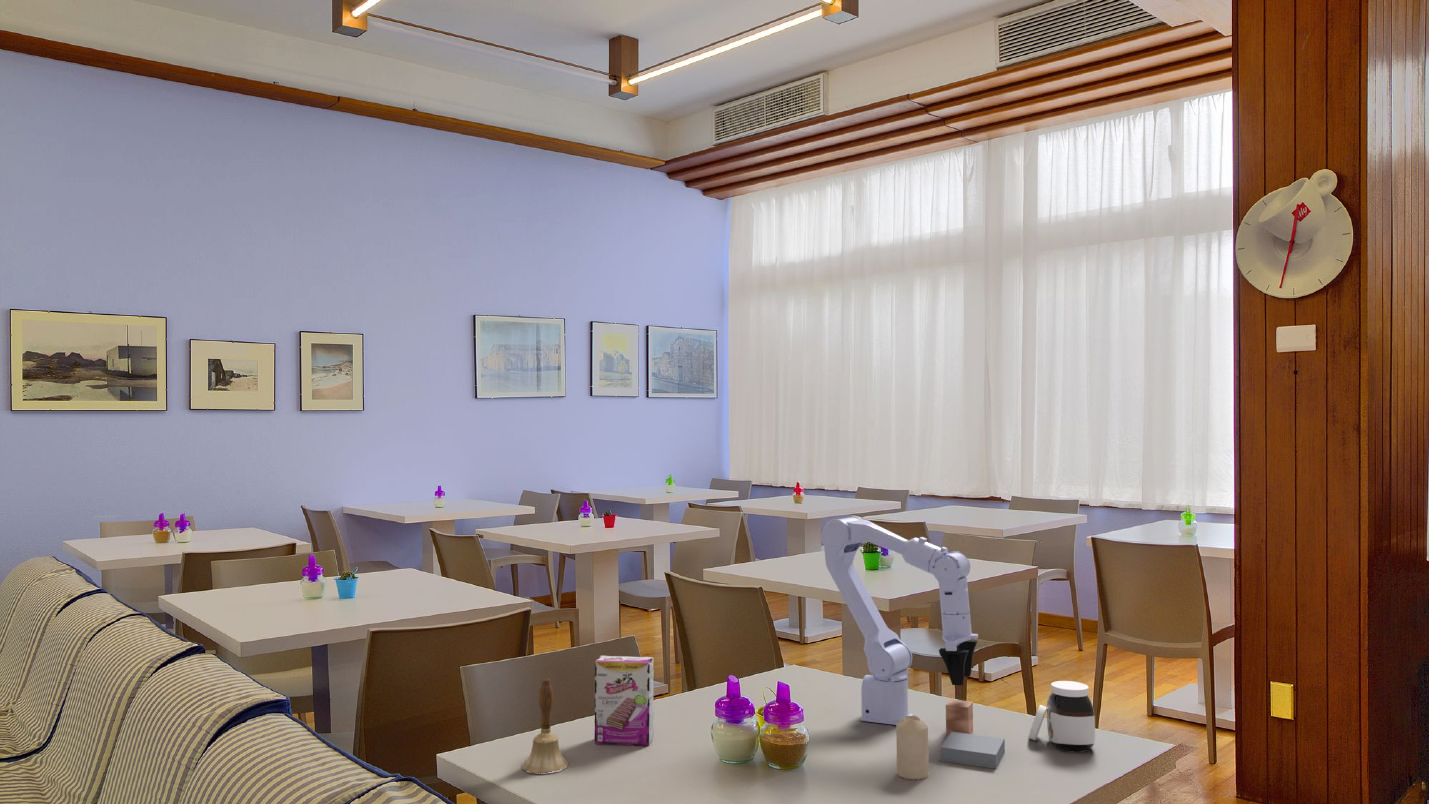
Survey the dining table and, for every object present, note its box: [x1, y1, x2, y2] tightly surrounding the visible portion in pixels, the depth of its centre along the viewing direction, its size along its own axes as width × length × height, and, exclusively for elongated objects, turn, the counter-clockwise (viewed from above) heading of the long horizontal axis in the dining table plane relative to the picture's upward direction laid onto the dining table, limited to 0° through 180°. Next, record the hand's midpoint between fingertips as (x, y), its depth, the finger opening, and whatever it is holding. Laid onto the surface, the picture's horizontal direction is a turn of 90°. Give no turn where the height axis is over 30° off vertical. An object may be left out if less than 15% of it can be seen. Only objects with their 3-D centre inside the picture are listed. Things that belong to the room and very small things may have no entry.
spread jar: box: [1028, 680, 1096, 753], centre depth 183 cm, size 12×11×12 cm
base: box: [939, 732, 1006, 769], centre depth 177 cm, size 10×10×2 cm
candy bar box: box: [594, 655, 655, 747], centre depth 187 cm, size 11×5×16 cm, turn 84°
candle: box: [895, 715, 929, 780], centre depth 168 cm, size 6×6×10 cm
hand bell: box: [521, 678, 569, 775], centre depth 173 cm, size 8×8×16 cm
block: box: [945, 698, 974, 736], centre depth 191 cm, size 4×4×6 cm
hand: (961, 680), depth 191 cm, fingers open, 7 cm apart
